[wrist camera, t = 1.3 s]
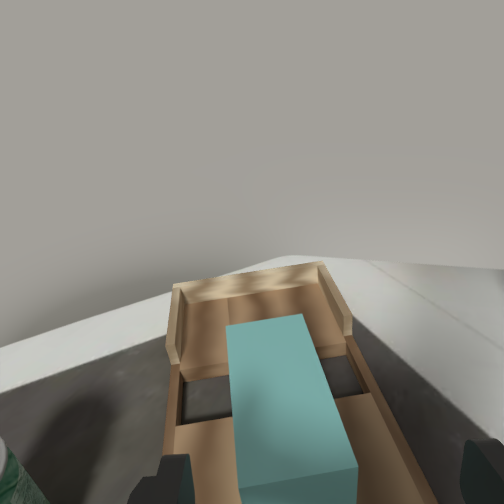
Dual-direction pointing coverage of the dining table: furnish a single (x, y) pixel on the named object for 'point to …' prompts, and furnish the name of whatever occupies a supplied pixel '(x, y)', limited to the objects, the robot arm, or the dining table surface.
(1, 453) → the canned tomato
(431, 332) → the dining table surface
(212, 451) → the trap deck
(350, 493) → the teal box
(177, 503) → the robot arm
